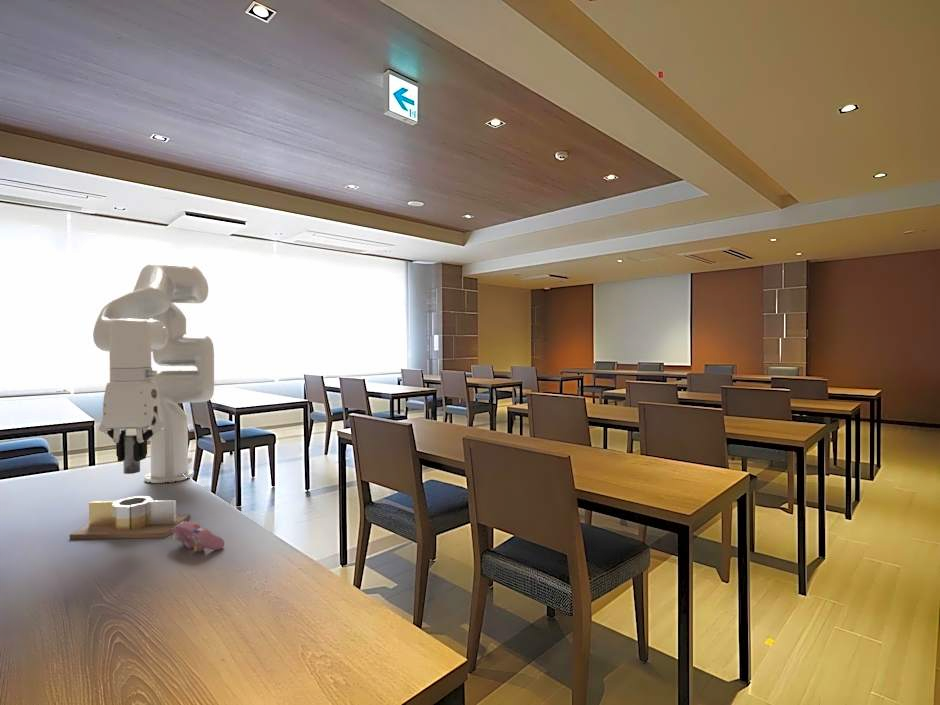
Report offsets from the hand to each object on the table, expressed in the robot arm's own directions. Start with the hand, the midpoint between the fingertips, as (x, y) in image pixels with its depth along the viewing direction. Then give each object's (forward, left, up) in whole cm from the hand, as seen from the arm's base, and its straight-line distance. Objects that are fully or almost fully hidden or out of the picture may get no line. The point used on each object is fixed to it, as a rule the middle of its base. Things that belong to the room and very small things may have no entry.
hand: (132, 459), depth 110 cm
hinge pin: (0, 0, -3) cm, 3 cm away
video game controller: (+11, +18, -16) cm, 27 cm away
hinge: (0, 0, -15) cm, 15 cm away
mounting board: (0, 0, -15) cm, 15 cm away
